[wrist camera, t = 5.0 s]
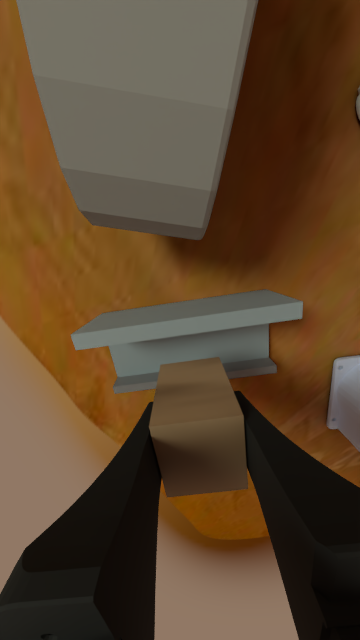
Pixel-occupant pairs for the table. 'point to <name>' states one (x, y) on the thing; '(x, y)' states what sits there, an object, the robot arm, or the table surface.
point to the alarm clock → (140, 103)
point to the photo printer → (358, 104)
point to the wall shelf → (190, 335)
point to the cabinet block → (198, 429)
